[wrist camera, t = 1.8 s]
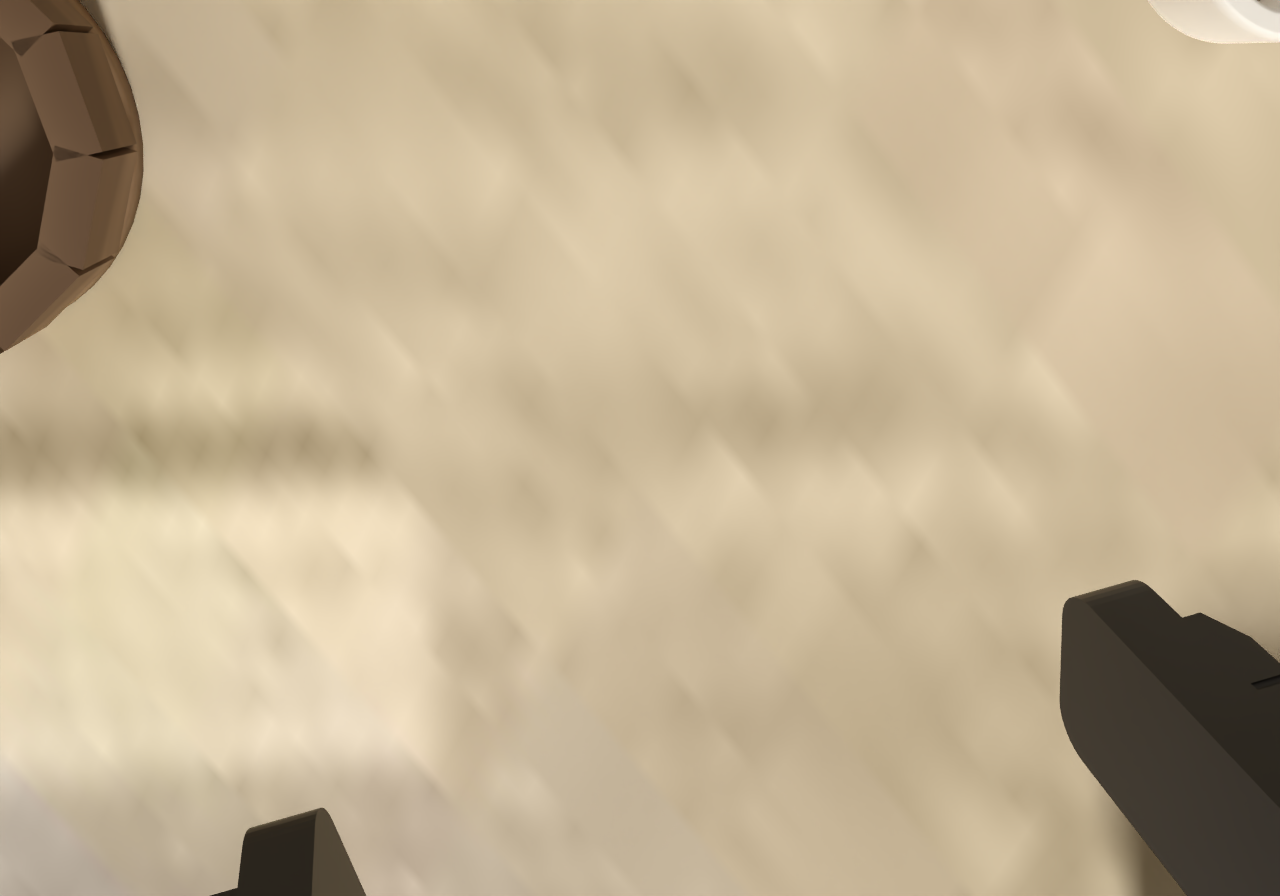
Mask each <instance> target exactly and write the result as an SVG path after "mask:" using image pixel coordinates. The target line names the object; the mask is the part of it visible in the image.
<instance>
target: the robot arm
mask: <svg viewBox="0 0 1280 896" xmlns="http://www.w3.org/2000/svg"><path fill="white" fill-rule="evenodd" d="M1060 709H1061V714H1062V719H1063V722H1064V726H1065V729H1066V731H1067V734H1068V736H1069V739H1070V741H1071V743H1072V745H1073V747H1074V749H1075V750H1076V752H1077V754H1078V755H1079V757H1080V758H1081V760H1082V761H1083V762H1084V764H1085V765H1086V766H1087V768H1088V769H1089V770H1090V771H1091V773H1092V774H1093V775H1094V777H1095V778H1096V779H1097V780H1098V782H1099V783H1100V784H1101V786H1102V787H1103V788H1104V789H1105V791H1106V792H1107V793H1108V795H1109V796H1110V797H1111V798H1112V800H1113V801H1114V802H1115V804H1116V805H1117V806H1118V807H1119V809H1120V810H1121V811H1122V813H1123V814H1124V815H1125V816H1126V818H1127V819H1128V820H1129V822H1130V823H1131V824H1132V825H1133V827H1134V828H1135V829H1136V831H1137V832H1138V833H1139V835H1140V836H1141V837H1142V838H1143V840H1144V841H1145V842H1146V844H1147V845H1148V846H1149V847H1150V849H1151V850H1152V851H1153V853H1154V854H1155V855H1156V856H1157V858H1158V859H1159V860H1160V862H1161V863H1162V864H1163V865H1164V867H1165V868H1166V869H1167V871H1168V872H1169V873H1170V874H1171V876H1172V877H1173V878H1174V880H1175V881H1176V882H1177V883H1178V885H1179V886H1180V887H1181V889H1182V890H1183V891H1184V892H1185V894H1186V895H1187V896H1280V663H1279V662H1278V661H1277V660H1276V659H1274V658H1273V657H1272V656H1271V655H1270V654H1269V653H1268V652H1267V651H1266V650H1264V649H1263V648H1262V647H1261V646H1260V645H1259V644H1258V643H1257V642H1256V641H1254V640H1253V639H1252V638H1251V637H1249V636H1247V635H1245V634H1243V633H1241V632H1239V631H1237V630H1235V629H1233V628H1231V627H1229V626H1227V625H1225V624H1223V623H1220V622H1218V621H1216V620H1214V619H1212V618H1210V617H1208V616H1206V615H1204V614H1202V613H1197V614H1194V615H1190V616H1187V617H1183V618H1182V617H1181V616H1180V615H1179V614H1178V613H1177V612H1176V611H1174V610H1173V609H1172V608H1171V607H1170V606H1169V605H1168V604H1167V603H1166V602H1165V601H1164V600H1163V599H1162V598H1161V597H1160V596H1159V595H1158V594H1157V593H1156V592H1155V591H1154V590H1153V589H1151V588H1150V587H1149V586H1148V585H1146V584H1145V583H1143V582H1141V581H1138V580H1132V581H1128V582H1125V583H1121V584H1118V585H1114V586H1111V587H1107V588H1104V589H1100V590H1097V591H1093V592H1089V593H1086V594H1082V595H1079V596H1075V597H1072V598H1069V599H1068V600H1067V601H1066V603H1065V604H1064V608H1063V614H1062V642H1061V674H1060ZM211 896H366V894H365V892H364V890H363V888H362V885H361V883H360V881H359V879H358V876H357V874H356V872H355V870H354V868H353V865H352V863H351V861H350V859H349V856H348V854H347V852H346V850H345V847H344V845H343V843H342V841H341V839H340V836H339V834H338V832H337V830H336V827H335V825H334V823H333V821H332V819H331V817H330V815H329V813H328V812H327V811H326V810H325V809H324V808H319V809H315V810H312V811H308V812H305V813H301V814H298V815H294V816H291V817H287V818H284V819H280V820H277V821H273V822H270V823H266V824H262V825H259V826H255V827H252V828H249V829H248V830H247V832H246V834H245V837H244V841H243V847H242V855H241V863H240V872H239V880H238V888H235V889H232V890H228V891H225V892H221V893H218V894H214V895H211Z"/></svg>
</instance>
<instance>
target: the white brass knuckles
mask: <svg viewBox="0 0 1280 896" xmlns="http://www.w3.org/2000/svg"><path fill="white" fill-rule="evenodd" d="M1148 2H1149V3H1150V5H1151V6H1152V7H1153V9H1154V10H1155V11H1156V12H1157V13H1158V14H1159V16H1160V17H1161V18H1163V19H1164V20H1165V21H1166V22H1167V23H1168V24H1169V25H1171V26H1172V27H1174V28H1175V29H1176V30H1178V31H1180V32H1182V33H1183V34H1185V35H1188V36H1190V37H1192V38H1195V39H1198V40H1202V41H1206V42H1212V43H1270V42H1280V0H1260V1H1257V0H1148Z"/></svg>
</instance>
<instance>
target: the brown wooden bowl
mask: <svg viewBox="0 0 1280 896" xmlns="http://www.w3.org/2000/svg"><path fill="white" fill-rule="evenodd" d="M142 178H143V142H142V135H141V128H140V121H139V116H138V112H137V108H136V105H135V101H134V98H133V94H132V91H131V88H130V85H129V83H128V80H127V78H126V76H125V73H124V71H123V68H122V66H121V64H120V61H119V59H118V58H117V56H116V54H115V52H114V51H113V49H112V47H111V45H110V43H109V42H108V40H107V38H106V36H105V35H104V33H103V32H102V30H101V29H100V28H99V26H98V25H97V24H96V22H95V21H94V19H93V18H92V17H91V15H90V14H89V12H88V11H87V10H86V8H85V7H84V6H83V5H82V4H81V3H80V2H79V1H78V0H0V354H1V353H2V352H4V351H6V350H8V349H10V348H11V347H13V346H15V345H16V344H18V343H20V342H21V341H23V340H25V339H26V338H28V337H30V336H32V335H33V334H35V333H37V332H38V331H40V330H42V329H43V328H45V327H47V326H48V325H49V324H50V323H51V322H52V321H53V320H54V319H55V318H56V317H57V316H58V315H59V314H60V313H61V312H62V311H63V310H64V309H65V308H66V307H67V306H69V305H70V304H72V303H73V302H75V301H76V300H77V299H78V298H80V297H81V296H82V295H83V294H84V293H85V292H87V291H88V290H89V289H90V288H91V287H92V286H94V285H95V283H96V282H97V281H98V280H99V279H100V278H101V276H102V275H103V274H104V273H105V272H106V271H107V269H108V268H109V267H110V266H111V264H112V263H113V261H114V260H115V258H116V256H117V255H118V253H119V252H120V250H121V248H122V247H123V245H124V243H125V241H126V238H127V236H128V234H129V231H130V229H131V227H132V224H133V222H134V218H135V215H136V211H137V207H138V204H139V200H140V195H141V186H142Z"/></svg>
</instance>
